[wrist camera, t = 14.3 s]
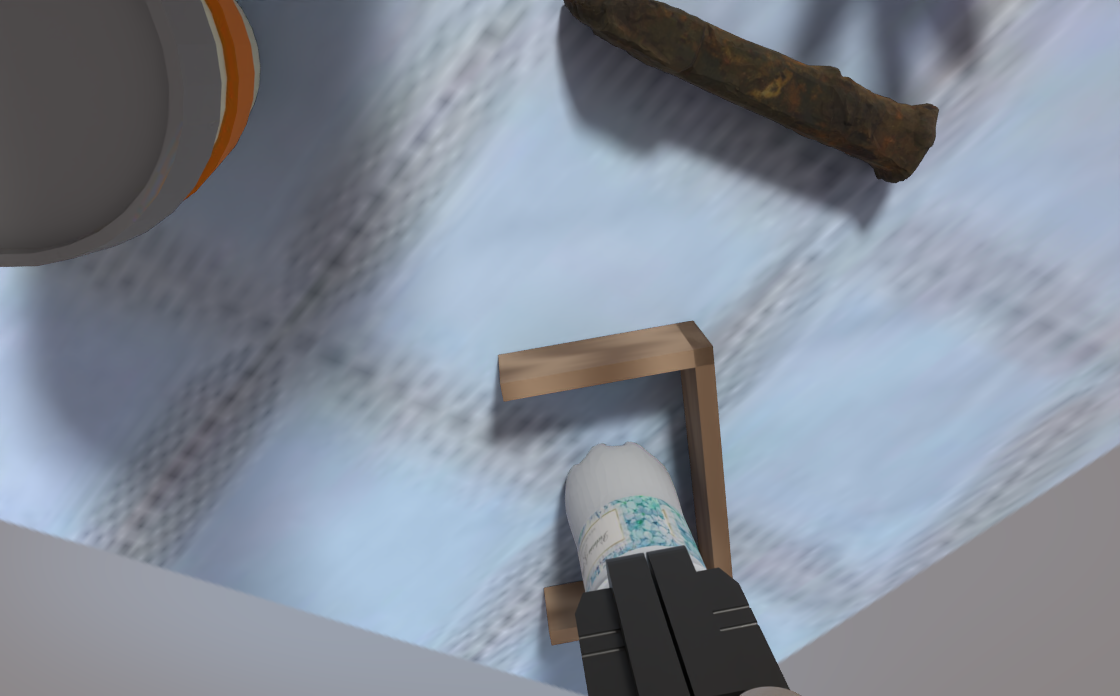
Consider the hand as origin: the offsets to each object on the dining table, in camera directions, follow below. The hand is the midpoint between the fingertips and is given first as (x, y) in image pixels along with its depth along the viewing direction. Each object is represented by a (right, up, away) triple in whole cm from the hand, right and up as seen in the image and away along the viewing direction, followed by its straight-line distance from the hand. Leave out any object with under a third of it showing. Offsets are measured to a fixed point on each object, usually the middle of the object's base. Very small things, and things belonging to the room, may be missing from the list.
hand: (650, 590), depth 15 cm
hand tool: (+7, +18, +26) cm, 32 cm away
